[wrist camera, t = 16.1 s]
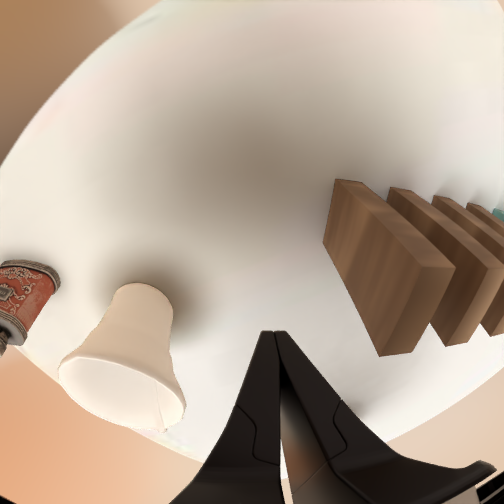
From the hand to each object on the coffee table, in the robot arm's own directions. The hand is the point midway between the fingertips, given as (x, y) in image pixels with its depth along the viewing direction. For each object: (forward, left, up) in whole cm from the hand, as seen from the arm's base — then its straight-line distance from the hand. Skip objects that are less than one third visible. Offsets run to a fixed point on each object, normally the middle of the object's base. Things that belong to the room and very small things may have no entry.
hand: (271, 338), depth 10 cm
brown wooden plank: (-6, -9, -12) cm, 16 cm away
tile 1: (-4, -5, -12) cm, 13 cm away
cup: (-3, +12, -12) cm, 17 cm away
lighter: (+6, +21, -12) cm, 25 cm away
